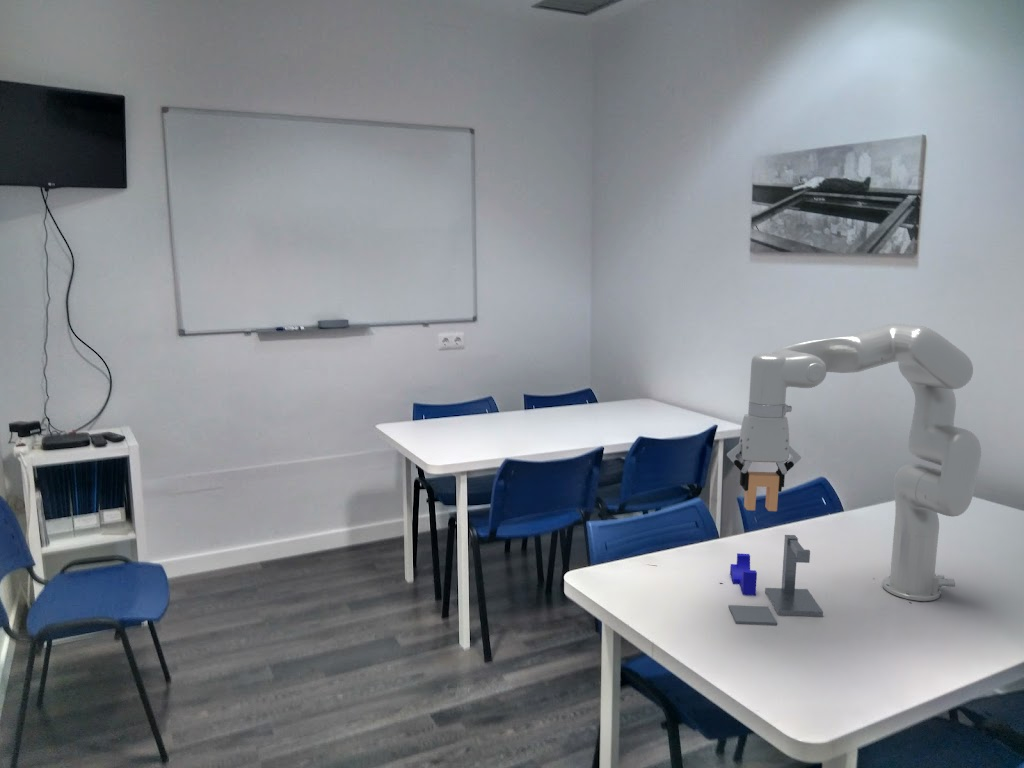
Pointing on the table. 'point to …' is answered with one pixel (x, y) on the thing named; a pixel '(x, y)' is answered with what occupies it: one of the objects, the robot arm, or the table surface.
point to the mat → (752, 615)
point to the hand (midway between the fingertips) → (761, 488)
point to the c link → (762, 480)
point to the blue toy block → (744, 575)
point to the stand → (793, 584)
